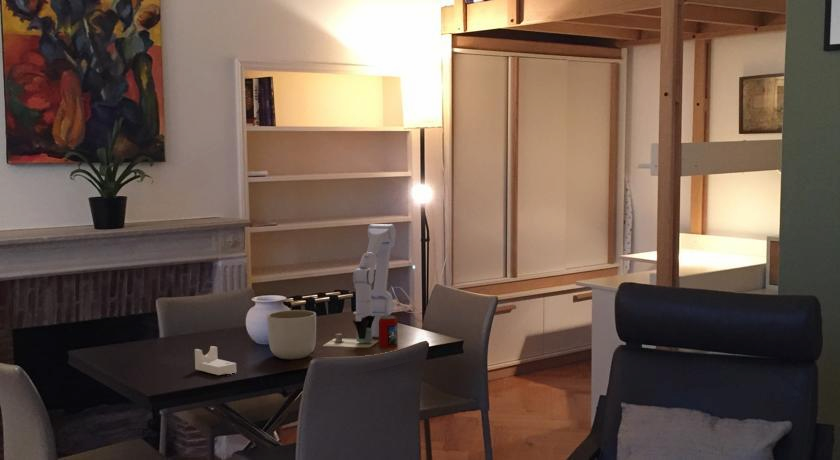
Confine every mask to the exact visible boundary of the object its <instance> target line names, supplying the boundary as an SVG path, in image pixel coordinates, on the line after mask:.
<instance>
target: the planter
mask: <svg viewBox="0 0 840 460" xmlns="http://www.w3.org/2000/svg"><path fill="white" fill-rule="evenodd" d="M266 315H267V317H266V318H267V319H266V321H267V333H268V334H267V335H268V345H269V349H270V351H271V353H272V354H273V355H274V356H275V357H276V358H278V359H283V360H299V359H304V358H306V357H308V356H310V354H312V353H313V351H314V350H315V348H316V341H317V340H316V339H317V313H316V312H315V311H312V310H304V309H292V310H279V311H274V312H270V313H268V314H266Z"/></svg>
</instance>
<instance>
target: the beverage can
mask: <svg viewBox="0 0 840 460" xmlns="http://www.w3.org/2000/svg"><path fill="white" fill-rule="evenodd" d="M378 340H379V341H378V346H379V348H383V349H393V348H397V347H398V345H399V344H398V342H399V340H398V319H397V318H396V316H395V315H391V314H390V315H387V316H381V318H380V320H379V337H378Z"/></svg>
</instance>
